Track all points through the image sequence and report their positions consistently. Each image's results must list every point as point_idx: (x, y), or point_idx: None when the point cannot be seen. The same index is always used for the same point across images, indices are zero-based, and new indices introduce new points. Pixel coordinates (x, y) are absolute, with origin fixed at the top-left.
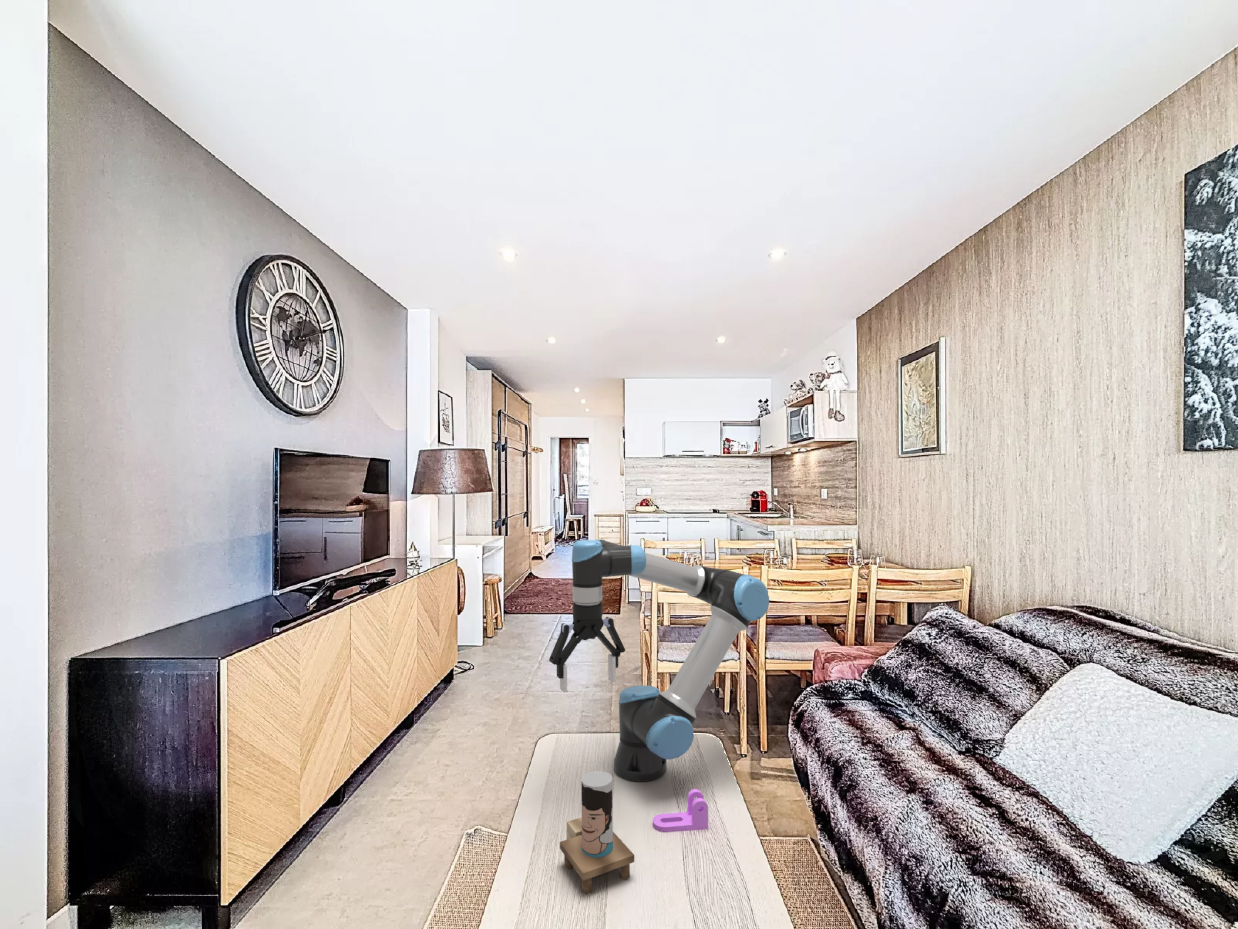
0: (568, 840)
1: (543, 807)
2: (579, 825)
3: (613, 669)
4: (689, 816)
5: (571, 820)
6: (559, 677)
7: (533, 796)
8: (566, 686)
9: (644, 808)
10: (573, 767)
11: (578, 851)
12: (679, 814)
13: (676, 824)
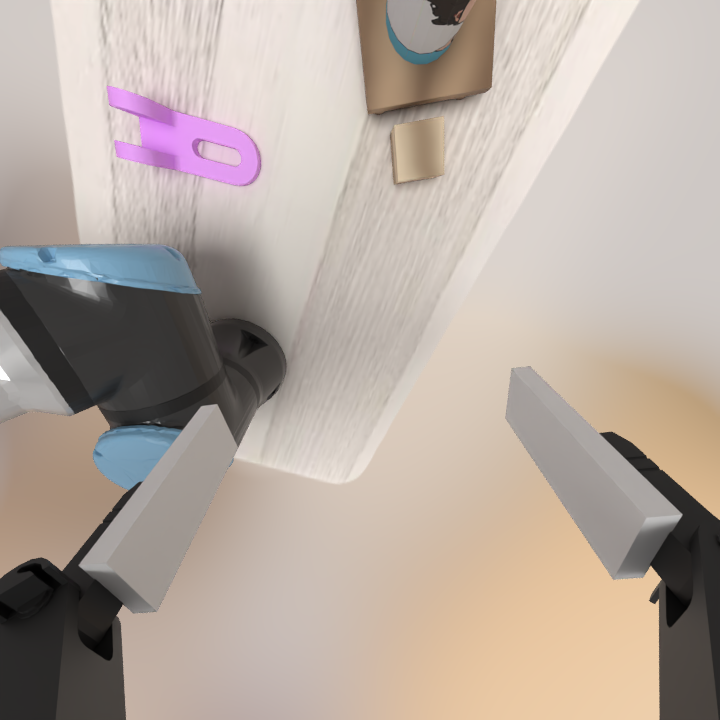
0: (471, 85)
1: (431, 306)
2: (425, 145)
3: (172, 463)
4: (175, 149)
5: (433, 175)
6: (622, 438)
7: (434, 343)
8: (534, 386)
9: (262, 236)
10: (347, 399)
11: (471, 15)
12: (196, 166)
13: (210, 128)
